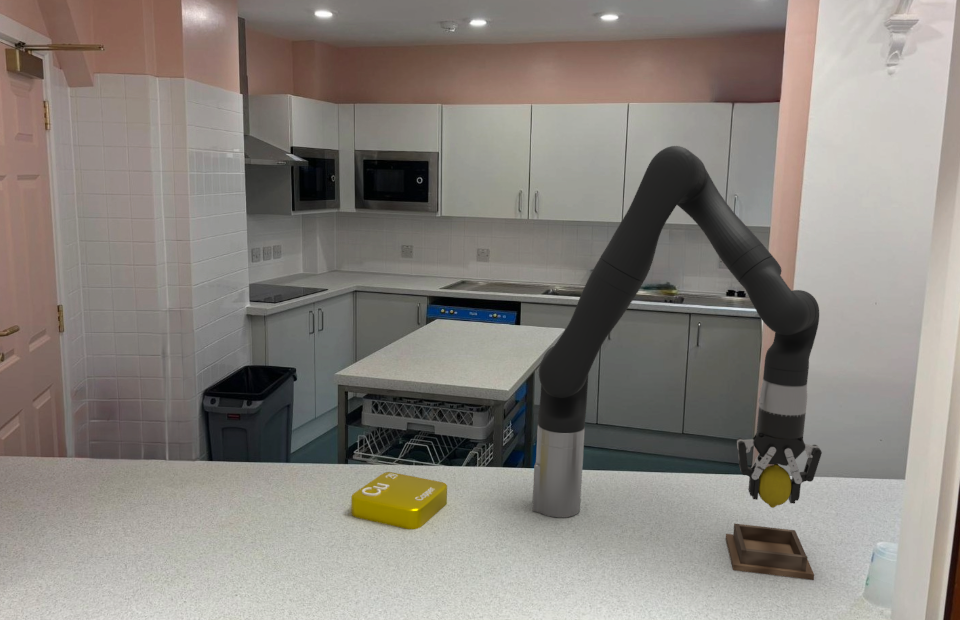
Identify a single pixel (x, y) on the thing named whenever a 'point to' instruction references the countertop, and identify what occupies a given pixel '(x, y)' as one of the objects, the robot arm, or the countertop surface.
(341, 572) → the countertop surface
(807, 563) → the lemon stand
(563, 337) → the robot arm
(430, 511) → the element tile
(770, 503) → the lemon
